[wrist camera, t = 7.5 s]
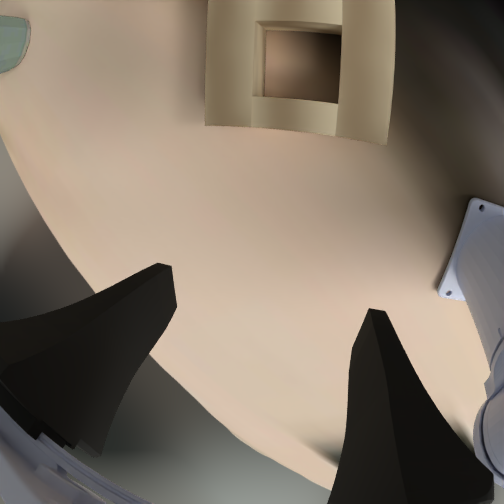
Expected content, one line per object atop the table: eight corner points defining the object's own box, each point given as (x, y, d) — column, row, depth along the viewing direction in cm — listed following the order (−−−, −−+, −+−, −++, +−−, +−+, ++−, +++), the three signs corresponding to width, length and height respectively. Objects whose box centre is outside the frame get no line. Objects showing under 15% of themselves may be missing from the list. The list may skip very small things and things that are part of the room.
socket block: (380, -70, 7) (383, -87, 4) (379, 139, 15) (386, 145, 13) (230, -73, 9) (216, -88, 7) (221, 121, 17) (204, 125, 15)
